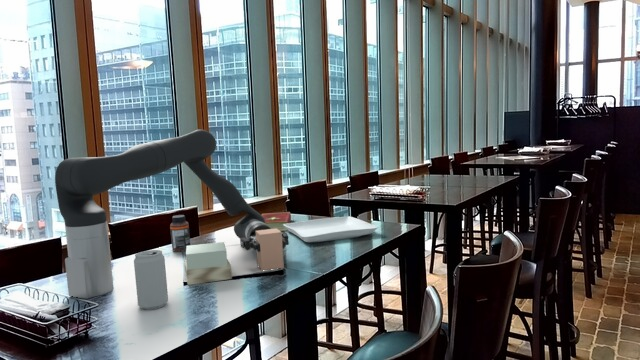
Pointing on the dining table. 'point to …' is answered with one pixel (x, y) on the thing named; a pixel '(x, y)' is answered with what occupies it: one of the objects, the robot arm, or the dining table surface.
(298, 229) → the square plate
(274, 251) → the terracotta pillar block
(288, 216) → the hardcover book
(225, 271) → the birch base block
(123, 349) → the dining table surface
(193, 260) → the sage top block
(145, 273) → the beverage can
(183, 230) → the supplement bottle
